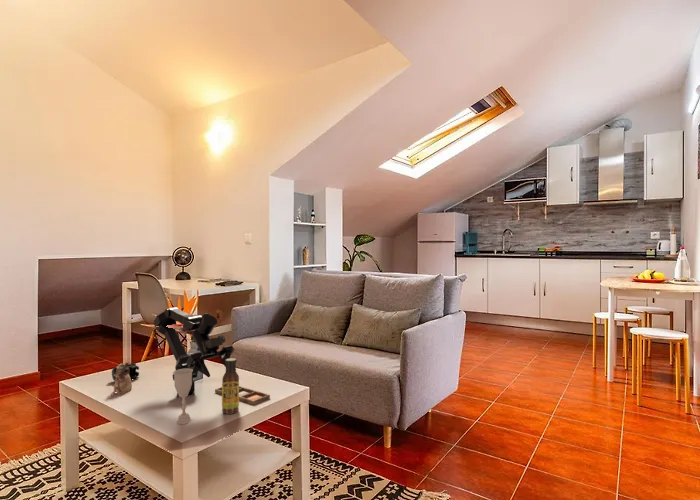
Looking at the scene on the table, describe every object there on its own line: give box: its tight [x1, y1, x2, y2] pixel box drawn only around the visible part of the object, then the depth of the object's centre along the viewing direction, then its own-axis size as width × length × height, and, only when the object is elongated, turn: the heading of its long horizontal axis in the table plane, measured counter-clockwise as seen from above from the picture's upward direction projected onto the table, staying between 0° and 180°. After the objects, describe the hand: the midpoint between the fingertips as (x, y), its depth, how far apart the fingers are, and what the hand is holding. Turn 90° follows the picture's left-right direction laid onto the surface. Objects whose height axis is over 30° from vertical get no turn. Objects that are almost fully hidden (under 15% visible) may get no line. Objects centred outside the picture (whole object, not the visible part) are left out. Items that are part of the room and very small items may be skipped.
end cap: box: [111, 362, 140, 382], centre depth 202 cm, size 10×7×7 cm
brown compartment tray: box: [214, 385, 271, 406], centre depth 178 cm, size 25×9×2 cm, turn 53°
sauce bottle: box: [221, 357, 240, 415], centre depth 161 cm, size 6×6×20 cm
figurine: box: [113, 362, 133, 394], centre depth 187 cm, size 7×7×12 cm
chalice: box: [172, 368, 193, 425], centre depth 153 cm, size 7×7×18 cm
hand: (220, 373), depth 165 cm, fingers open, 9 cm apart
